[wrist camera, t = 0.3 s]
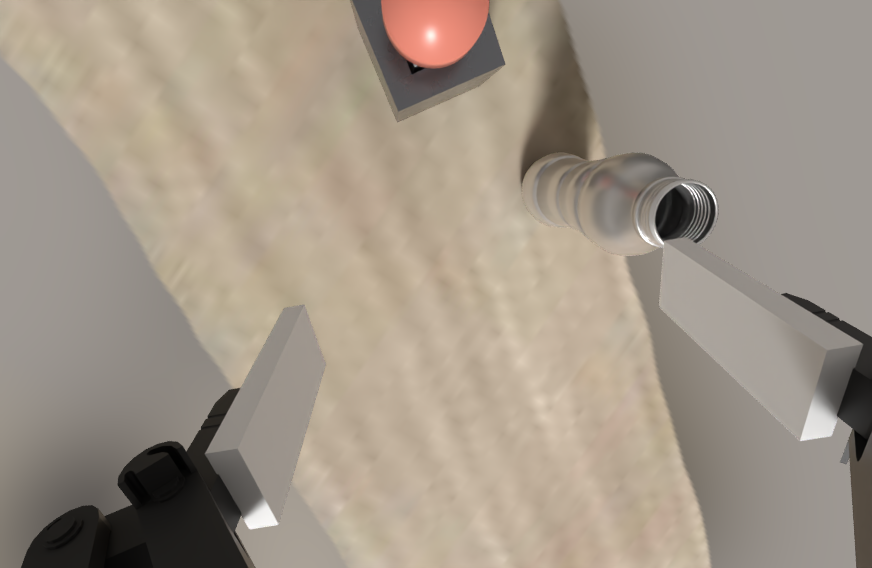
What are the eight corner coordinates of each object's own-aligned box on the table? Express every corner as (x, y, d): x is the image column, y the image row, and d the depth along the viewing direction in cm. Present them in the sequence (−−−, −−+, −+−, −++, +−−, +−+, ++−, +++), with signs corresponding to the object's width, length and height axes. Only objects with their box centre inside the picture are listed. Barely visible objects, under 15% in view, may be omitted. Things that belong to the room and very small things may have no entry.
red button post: (357, 27, 35) (346, -14, 27) (445, -12, 35) (462, -67, 27) (397, 122, 38) (398, 111, 29) (479, 85, 38) (505, 64, 29)
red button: (371, 20, 32) (362, -36, 23) (444, -13, 32) (465, -83, 23) (404, 100, 34) (407, 78, 24) (473, 69, 34) (504, 36, 24)
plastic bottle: (556, 137, 40) (709, 118, 20) (594, 194, 41) (766, 226, 22) (502, 182, 40) (600, 204, 21) (541, 236, 42) (664, 302, 23)
